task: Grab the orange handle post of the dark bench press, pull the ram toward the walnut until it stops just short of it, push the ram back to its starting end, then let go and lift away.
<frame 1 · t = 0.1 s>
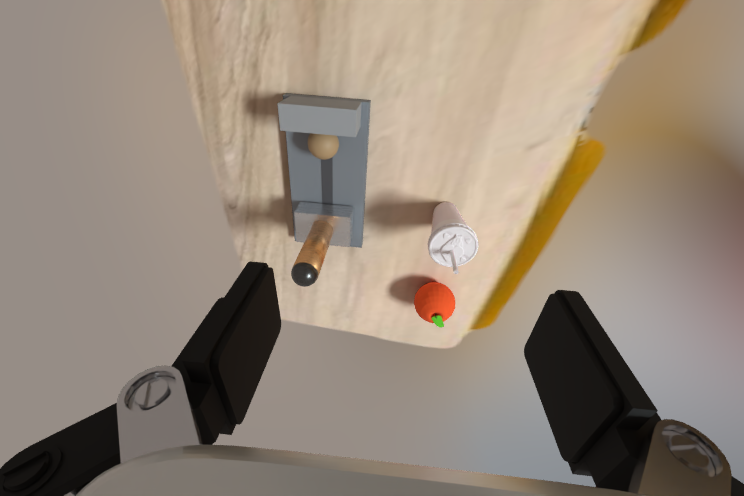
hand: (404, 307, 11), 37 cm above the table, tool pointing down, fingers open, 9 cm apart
ram: (316, 245, 44), point 9 cm above the table, slide at 0.0 cm
smoothie: (445, 212, 50), on the table
clementine: (434, 290, 59), on the table
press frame: (329, 177, 48), on the table
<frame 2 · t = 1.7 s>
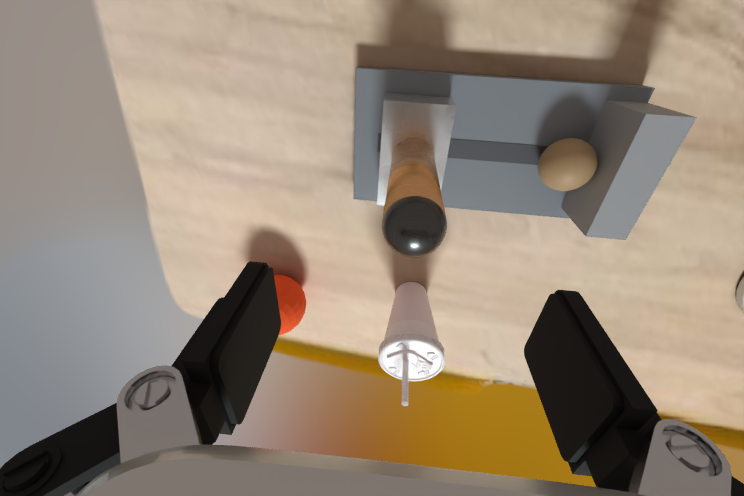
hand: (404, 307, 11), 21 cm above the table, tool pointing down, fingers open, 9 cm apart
ram: (413, 180, 21), point 9 cm above the table, slide at 0.0 cm
smoothie: (411, 292, 39), on the table
clementine: (282, 285, 40), on the table
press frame: (480, 145, 29), on the table
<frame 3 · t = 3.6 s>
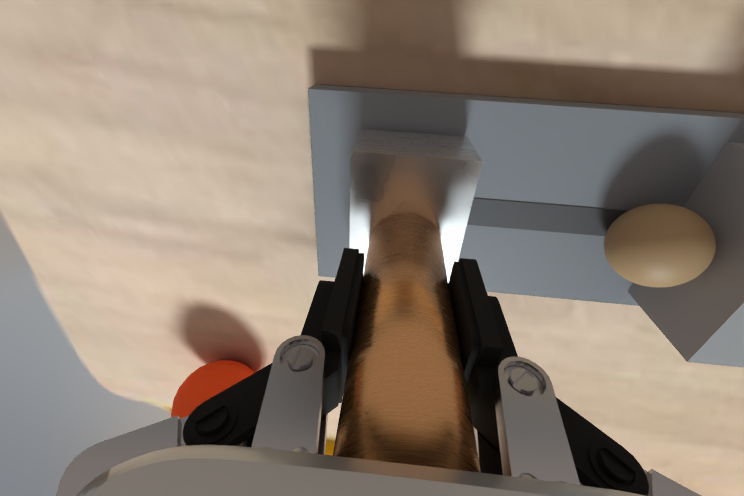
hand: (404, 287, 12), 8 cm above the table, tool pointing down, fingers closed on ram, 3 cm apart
ram: (404, 309, 11), point 9 cm above the table, slide at 0.0 cm, touching gripper
clementine: (234, 367, 30), on the table
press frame: (508, 202, 19), on the table
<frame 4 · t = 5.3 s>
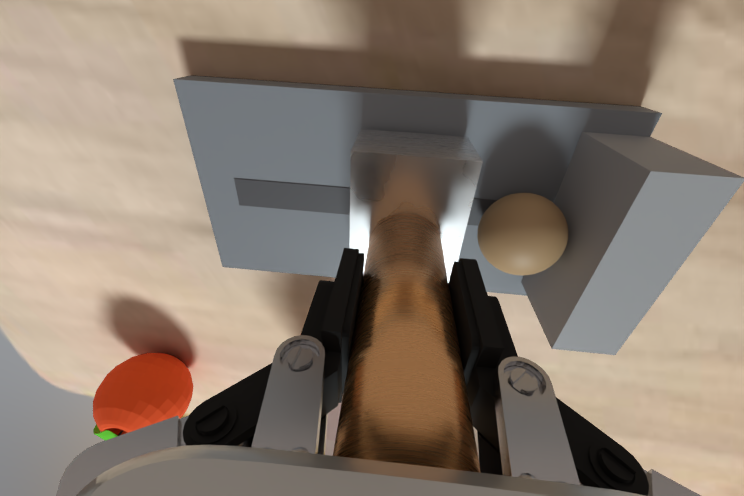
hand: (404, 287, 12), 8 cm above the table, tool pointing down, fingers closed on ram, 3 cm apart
ram: (404, 309, 11), point 9 cm above the table, slide at 6.4 cm, touching gripper
smoothie: (335, 371, 29), on the table
clementine: (168, 360, 31), on the table
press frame: (398, 194, 19), on the table
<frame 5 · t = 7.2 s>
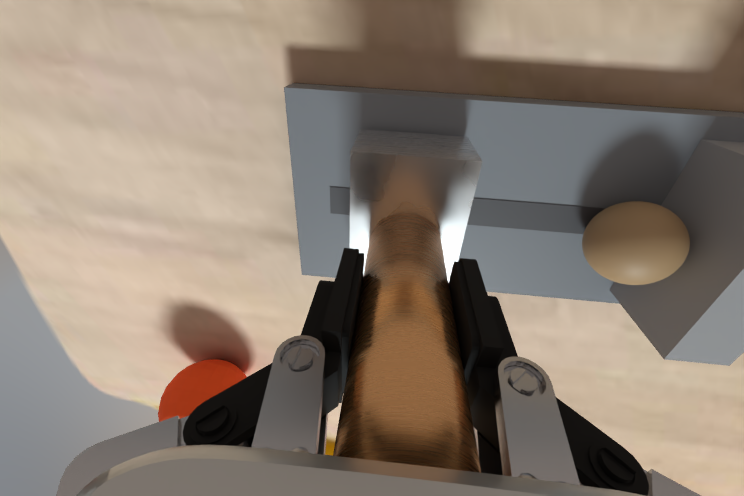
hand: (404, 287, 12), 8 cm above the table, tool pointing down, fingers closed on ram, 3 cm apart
ram: (404, 309, 11), point 9 cm above the table, slide at 1.1 cm, touching gripper
clementine: (222, 366, 30), on the table
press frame: (489, 201, 19), on the table
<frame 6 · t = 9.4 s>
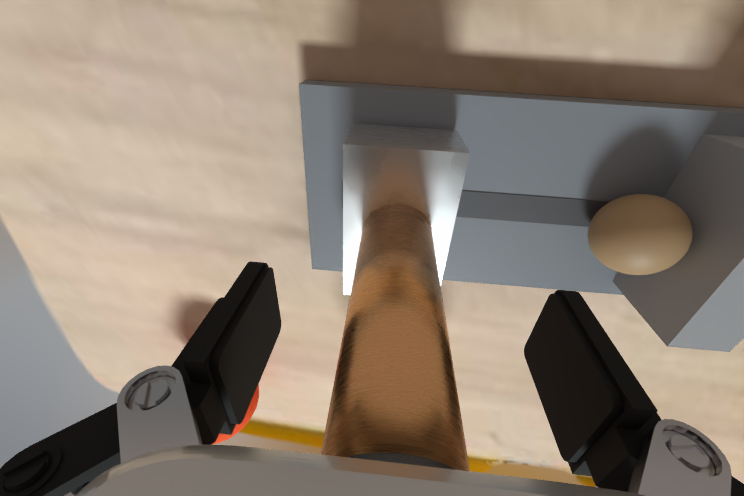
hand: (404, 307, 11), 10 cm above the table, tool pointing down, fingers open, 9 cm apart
ram: (395, 295, 12), point 9 cm above the table, slide at 0.1 cm
clementine: (229, 362, 31), on the table
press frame: (496, 195, 19), on the table
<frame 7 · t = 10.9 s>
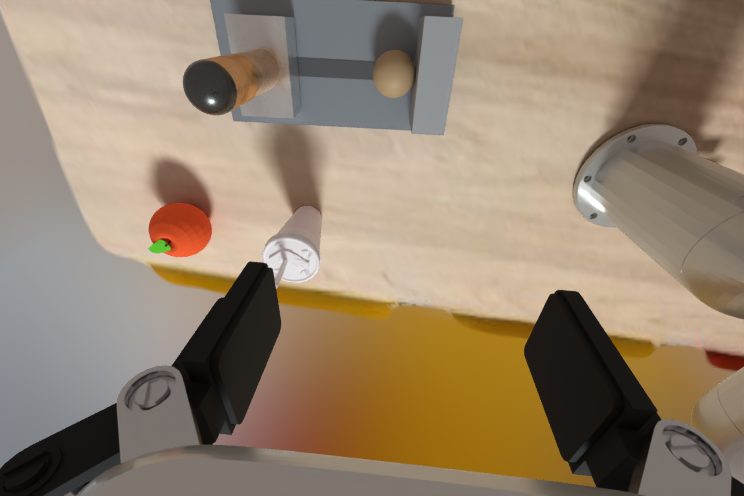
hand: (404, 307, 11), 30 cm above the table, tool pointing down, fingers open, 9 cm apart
ram: (244, 76, 26), point 9 cm above the table, slide at 0.1 cm
smoothie: (308, 217, 44), on the table
clementine: (192, 217, 44), on the table
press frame: (334, 67, 33), on the table
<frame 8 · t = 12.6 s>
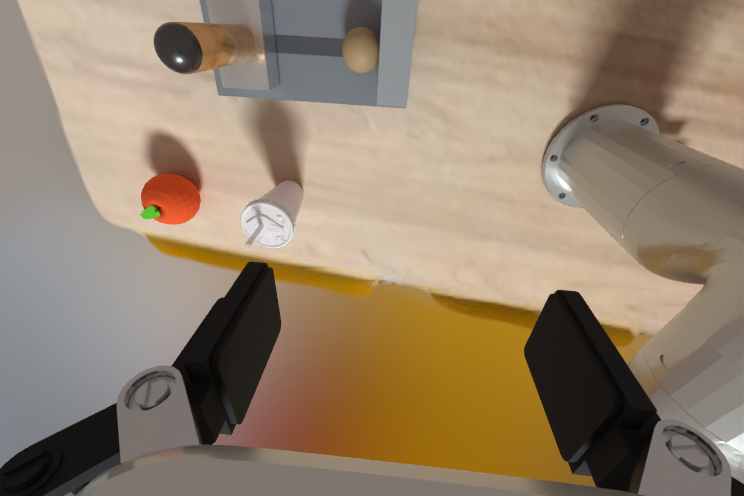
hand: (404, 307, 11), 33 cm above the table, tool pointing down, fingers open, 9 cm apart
ram: (219, 45, 28), point 9 cm above the table, slide at 0.1 cm
smoothie: (291, 191, 46), on the table
clementine: (184, 189, 48), on the table
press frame: (311, 45, 36), on the table
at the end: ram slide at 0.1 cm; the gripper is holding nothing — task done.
